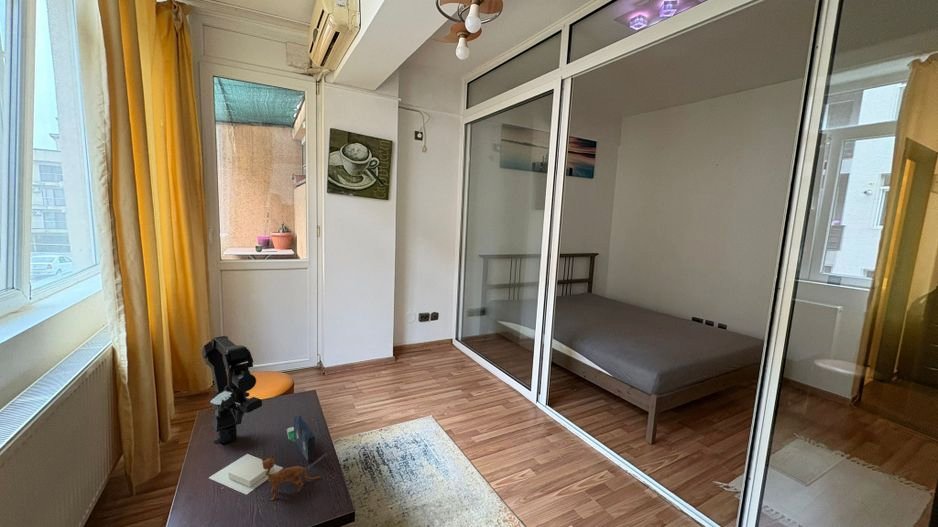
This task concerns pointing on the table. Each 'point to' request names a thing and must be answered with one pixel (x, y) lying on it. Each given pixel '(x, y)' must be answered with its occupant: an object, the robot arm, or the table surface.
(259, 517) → the table surface
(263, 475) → the tile
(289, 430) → the smartphone
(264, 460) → the cat figurine
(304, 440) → the vhs cassette tape
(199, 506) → the table surface
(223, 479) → the mat
